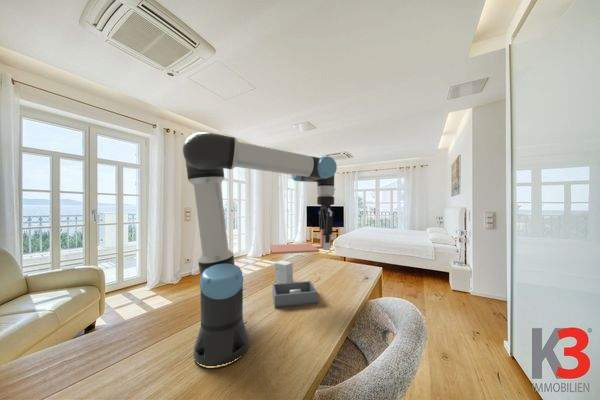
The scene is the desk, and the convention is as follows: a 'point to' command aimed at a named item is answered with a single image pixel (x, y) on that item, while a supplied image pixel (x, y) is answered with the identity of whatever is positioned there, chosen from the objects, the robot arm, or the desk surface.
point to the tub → (294, 294)
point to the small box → (283, 272)
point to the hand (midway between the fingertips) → (325, 248)
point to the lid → (298, 247)
